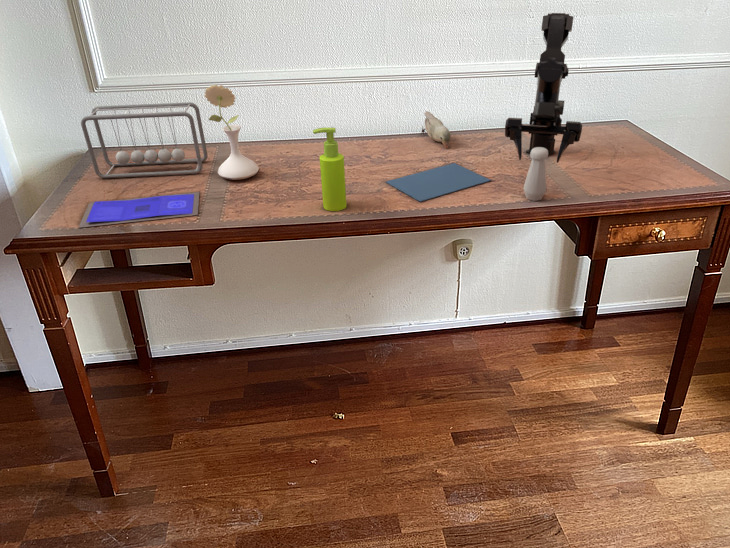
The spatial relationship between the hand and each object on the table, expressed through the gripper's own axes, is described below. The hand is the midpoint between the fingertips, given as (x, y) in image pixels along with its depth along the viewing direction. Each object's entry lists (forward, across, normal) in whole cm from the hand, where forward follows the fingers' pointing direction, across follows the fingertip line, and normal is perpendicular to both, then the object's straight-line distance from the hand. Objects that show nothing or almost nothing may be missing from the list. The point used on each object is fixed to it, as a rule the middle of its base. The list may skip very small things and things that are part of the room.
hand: (538, 160), depth 152 cm
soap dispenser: (+20, -49, -6) cm, 53 cm away
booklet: (+28, -96, -15) cm, 101 cm away
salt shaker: (+8, 0, +6) cm, 10 cm away
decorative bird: (-19, -33, +32) cm, 50 cm away
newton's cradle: (+11, -109, +3) cm, 109 cm away
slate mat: (+4, -26, +9) cm, 28 cm away
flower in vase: (+10, -83, +4) cm, 84 cm away
